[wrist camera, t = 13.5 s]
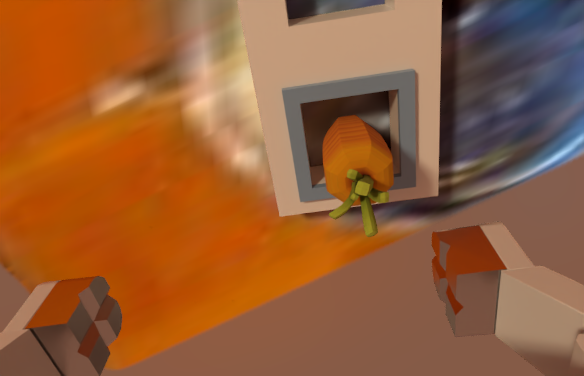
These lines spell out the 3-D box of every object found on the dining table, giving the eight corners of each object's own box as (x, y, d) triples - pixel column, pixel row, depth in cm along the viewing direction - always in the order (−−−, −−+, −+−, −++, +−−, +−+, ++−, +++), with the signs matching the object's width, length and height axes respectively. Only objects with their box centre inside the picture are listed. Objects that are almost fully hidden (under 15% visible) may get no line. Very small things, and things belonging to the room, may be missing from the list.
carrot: (363, 153, 39) (395, 254, 26) (310, 141, 39) (315, 237, 25) (381, 101, 37) (426, 183, 24) (325, 88, 36) (339, 163, 23)
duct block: (428, -174, 28) (448, -191, 24) (426, 176, 40) (440, 199, 37) (217, -134, 29) (207, -145, 25) (280, 196, 41) (279, 220, 38)
